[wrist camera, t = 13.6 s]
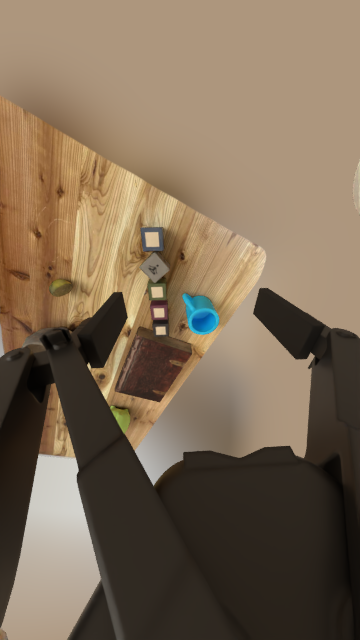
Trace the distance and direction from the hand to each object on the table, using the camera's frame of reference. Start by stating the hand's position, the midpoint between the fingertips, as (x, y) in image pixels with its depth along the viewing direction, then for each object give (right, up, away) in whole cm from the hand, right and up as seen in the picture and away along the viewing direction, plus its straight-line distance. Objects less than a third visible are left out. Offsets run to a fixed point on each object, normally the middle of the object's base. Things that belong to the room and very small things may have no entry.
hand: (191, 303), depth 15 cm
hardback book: (-12, -18, +44) cm, 49 cm away
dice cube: (-7, +13, +25) cm, 30 cm away
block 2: (-7, +8, +28) cm, 30 cm away
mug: (+3, +3, +32) cm, 32 cm away
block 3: (-7, +3, +32) cm, 32 cm away
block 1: (-7, +18, +22) cm, 30 cm away
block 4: (-7, -3, +35) cm, 35 cm away
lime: (-32, +8, +27) cm, 43 cm away
